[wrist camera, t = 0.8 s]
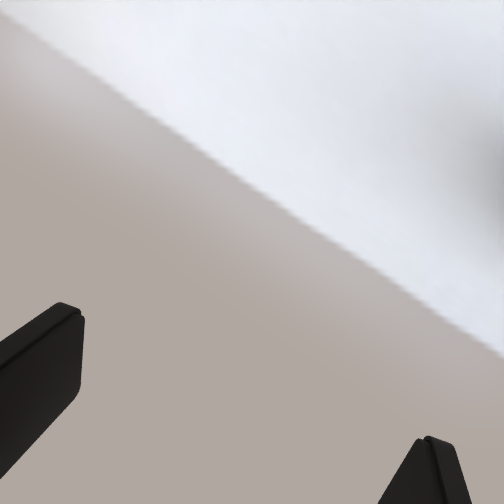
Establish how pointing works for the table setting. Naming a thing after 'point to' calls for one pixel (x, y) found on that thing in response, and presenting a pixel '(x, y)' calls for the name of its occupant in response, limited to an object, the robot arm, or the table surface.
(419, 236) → the table surface
